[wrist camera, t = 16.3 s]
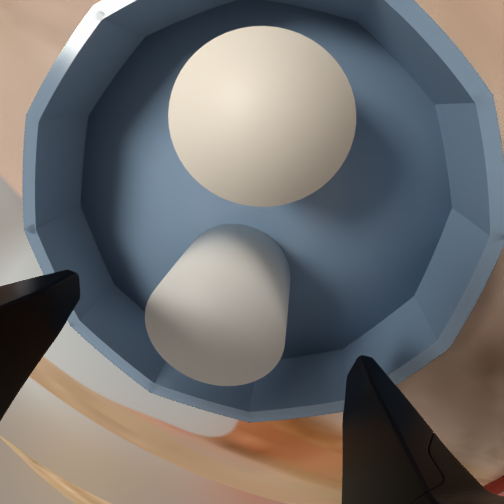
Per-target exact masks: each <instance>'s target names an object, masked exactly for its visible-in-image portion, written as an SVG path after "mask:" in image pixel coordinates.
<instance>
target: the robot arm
mask: <svg viewBox="0 0 504 504" xmlns="http://www.w3.org/2000/svg"><path fill="white" fill-rule="evenodd" d="M79 299H80V279H79V275H78V273H77V272H74V271H71V270H68V269H67V270H63V271H59V272H55V273H51V274H47V275H43V276H39V277H35V278H31V279H27V280H23V281H19V282H15V283H12V284H8V285H4V286H0V421H1V419H2V417H3V416H4V414H5V413H6V411H7V409H8V408H9V406H10V405H11V403H12V401H13V400H14V398H15V397H16V395H17V394H18V392H19V390H20V389H21V388H22V386H23V385H24V383H25V382H26V380H27V379H28V377H29V376H30V374H31V373H32V371H33V370H34V368H35V367H36V365H37V364H38V363H39V361H40V360H41V358H42V357H43V356H44V354H45V353H46V351H47V350H48V348H49V347H50V346H51V344H52V343H53V342H54V340H55V339H56V337H57V336H58V334H59V333H60V331H61V330H62V328H63V326H64V325H65V323H66V321H67V320H68V318H69V316H70V315H71V313H72V311H73V310H74V308H75V306H76V305H77V303H78V301H79ZM342 504H504V496H500V495H496V494H493V493H491V492H489V491H488V490H486V489H485V488H484V487H483V486H482V485H481V484H480V483H479V482H478V481H477V480H476V479H475V478H474V477H473V476H472V475H471V474H470V473H469V472H468V471H467V470H466V468H465V467H464V466H463V465H462V464H461V463H460V462H459V461H458V460H457V459H456V458H455V457H454V456H453V455H452V453H451V452H450V451H449V450H448V449H447V448H446V446H445V445H444V444H443V443H442V442H441V440H440V439H439V438H438V437H437V435H436V434H435V433H433V431H432V429H431V428H430V427H429V426H428V424H427V423H426V422H425V421H424V419H423V418H422V417H421V416H420V414H419V413H418V412H417V411H416V409H415V408H414V407H413V406H412V405H411V403H410V402H409V401H408V400H407V398H406V397H405V396H404V395H403V394H402V392H401V391H400V390H399V389H398V388H397V386H396V385H395V384H394V383H393V381H392V380H391V379H390V378H389V377H388V375H387V374H386V373H385V372H384V371H383V369H382V368H381V367H380V366H379V365H378V363H377V362H376V361H375V360H374V359H373V358H372V357H369V356H364V355H360V356H358V358H357V359H356V361H355V363H354V364H353V366H352V368H351V370H350V371H349V373H348V376H347V379H346V390H345V402H344V412H343V478H342Z"/></svg>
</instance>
